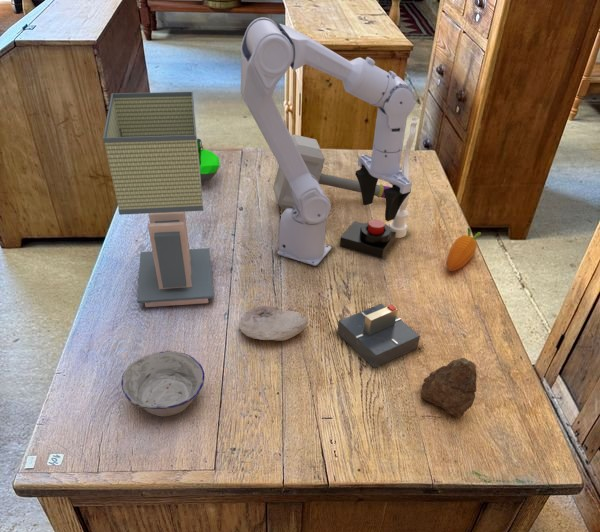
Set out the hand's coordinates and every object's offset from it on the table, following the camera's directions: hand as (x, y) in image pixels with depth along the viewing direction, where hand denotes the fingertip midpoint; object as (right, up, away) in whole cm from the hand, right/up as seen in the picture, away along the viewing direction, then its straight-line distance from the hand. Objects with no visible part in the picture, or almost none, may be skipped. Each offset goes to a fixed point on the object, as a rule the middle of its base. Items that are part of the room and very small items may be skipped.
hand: (378, 211), depth 121 cm
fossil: (-22, -28, -15) cm, 38 cm away
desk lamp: (-41, -17, -6) cm, 45 cm away
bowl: (-38, -40, -28) cm, 62 cm away
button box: (-2, -5, +6) cm, 8 cm away
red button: (0, -3, +3) cm, 5 cm away
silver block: (-2, -27, -18) cm, 33 cm away
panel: (-3, -29, -16) cm, 33 cm away
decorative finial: (+6, -1, +10) cm, 12 cm away
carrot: (+14, -13, -3) cm, 20 cm away
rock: (+7, -41, -27) cm, 50 cm away
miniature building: (-43, +16, +24) cm, 52 cm away
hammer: (-7, +8, +18) cm, 21 cm away
